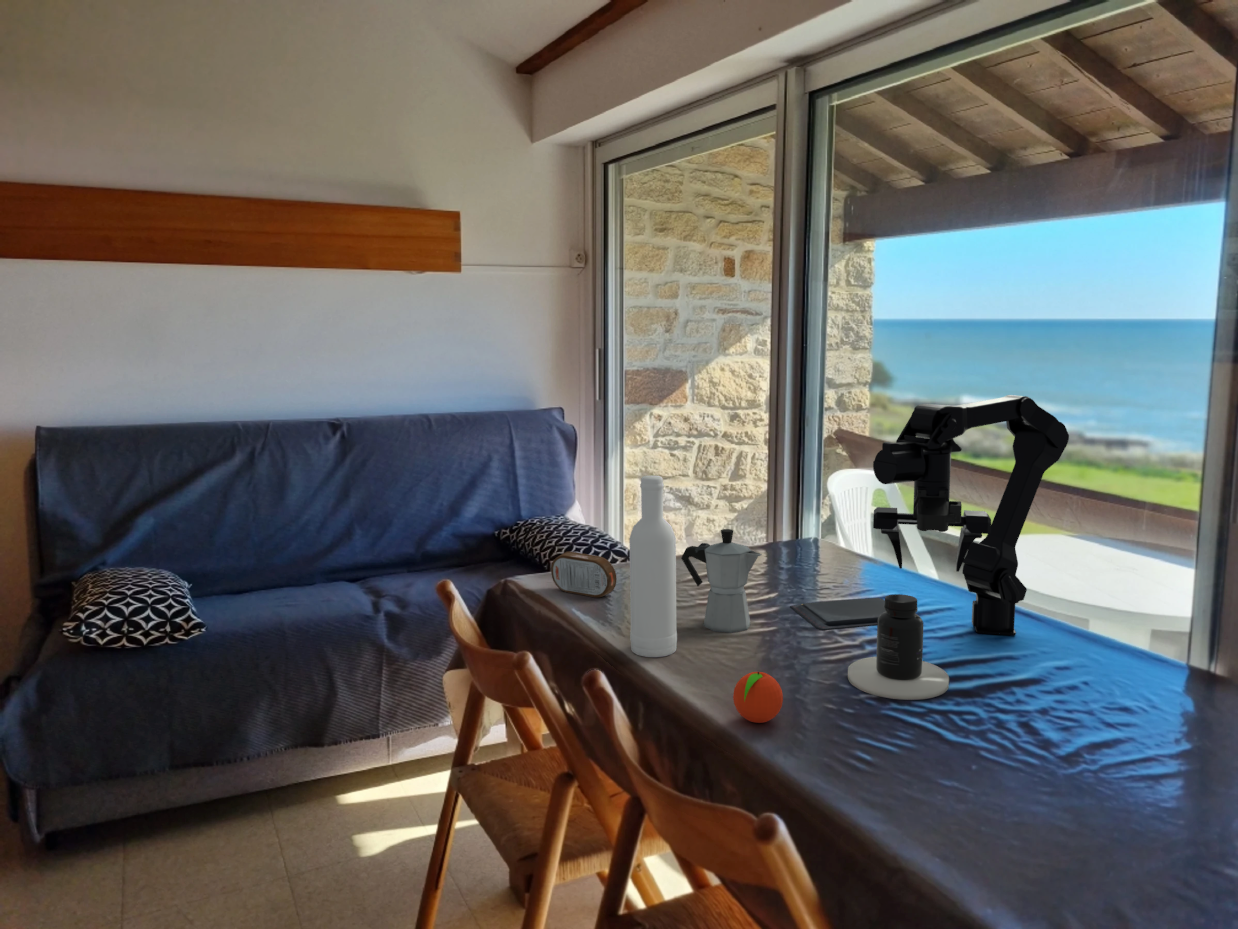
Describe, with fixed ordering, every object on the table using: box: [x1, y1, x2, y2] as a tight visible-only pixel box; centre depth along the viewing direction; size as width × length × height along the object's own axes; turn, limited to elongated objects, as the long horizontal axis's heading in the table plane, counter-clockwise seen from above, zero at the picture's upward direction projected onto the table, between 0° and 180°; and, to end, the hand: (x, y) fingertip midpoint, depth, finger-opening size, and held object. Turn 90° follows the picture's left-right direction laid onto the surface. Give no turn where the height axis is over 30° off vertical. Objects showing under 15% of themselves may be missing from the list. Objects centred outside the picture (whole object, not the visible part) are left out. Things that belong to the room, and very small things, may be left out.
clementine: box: [732, 671, 784, 724], centre depth 132 cm, size 8×7×7 cm
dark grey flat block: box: [789, 597, 886, 631], centre depth 180 cm, size 20×2×15 cm
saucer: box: [847, 656, 950, 701], centre depth 146 cm, size 15×15×1 cm
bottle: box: [629, 474, 678, 658], centre depth 160 cm, size 8×8×30 cm
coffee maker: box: [680, 528, 762, 634], centre depth 173 cm, size 15×9×18 cm, turn 71°
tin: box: [550, 551, 618, 599], centre depth 195 cm, size 15×3×8 cm, turn 58°
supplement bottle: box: [875, 593, 924, 680], centre depth 145 cm, size 7×7×12 cm
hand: (928, 569), depth 161 cm, fingers open, 9 cm apart
